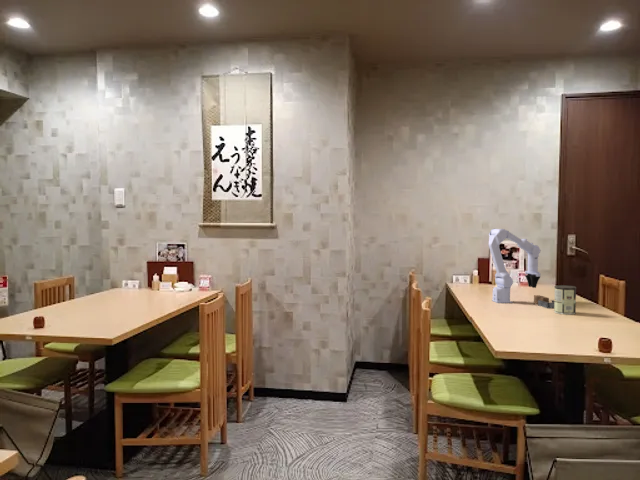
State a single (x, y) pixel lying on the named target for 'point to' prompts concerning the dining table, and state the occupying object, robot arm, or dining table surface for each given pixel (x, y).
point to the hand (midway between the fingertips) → (532, 287)
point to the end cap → (546, 304)
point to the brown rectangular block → (540, 298)
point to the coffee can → (565, 299)
